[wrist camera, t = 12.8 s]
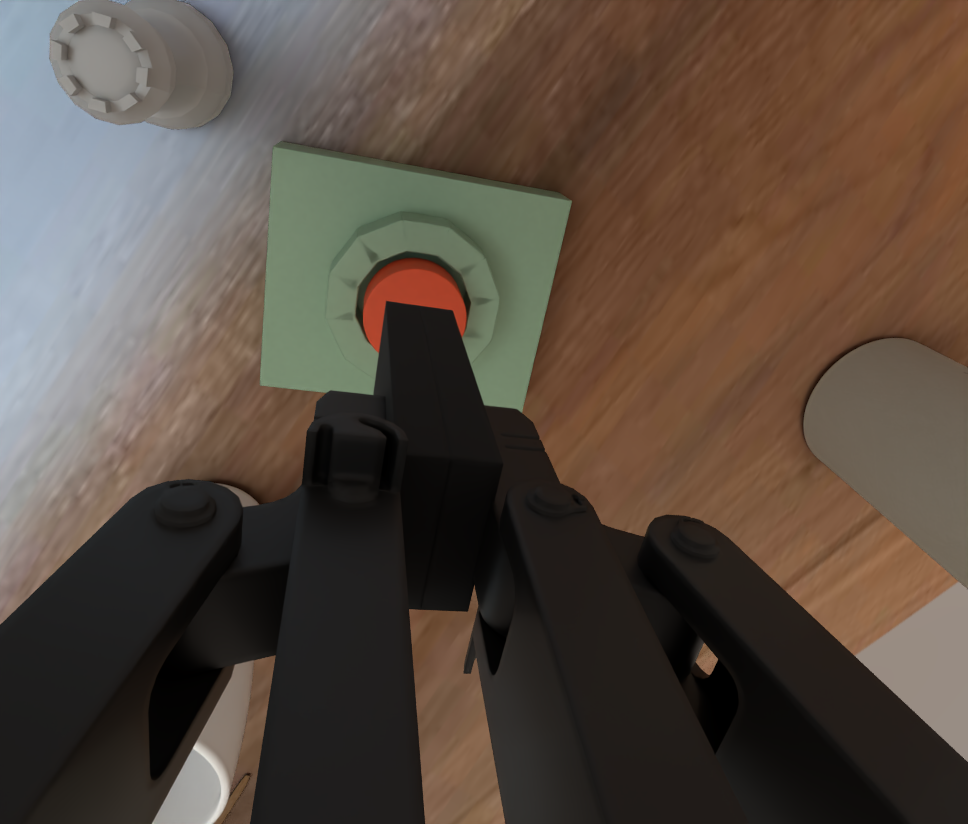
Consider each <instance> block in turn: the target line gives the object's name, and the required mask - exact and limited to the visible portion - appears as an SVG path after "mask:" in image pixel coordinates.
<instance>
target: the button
mask: <svg viewBox="0 0 968 824" xmlns="http://www.w3.org/2000/svg"><path fill="white" fill-rule="evenodd" d="M386 301H391V302H398V303H405V304H412V305H419V306H426V307H433V308H441V309H448V310H453V312H454V315H455V318H456V321H457V324H458V327H459V330H460V333H461V336H462V337H463V334H464V332H465V328H466V321H467V313H466V307H465V304H464V301H463V298H462V295H461V293H460V290H459V288H458V286H457V283H456V282H455V280H454V279H453V277H452V276H451V275H450V274H449V273H448V272H447V271H446V270H445V269H444V268H443V267H441V266H440V265H438V264H436V263H434V262H432V261H429V260H426V259H421V258H404V259H399V260H396V261H393V262H391V263H389V264H387V265H386V266H384V267H383V268H382V269H380V270H379V271H378V272H377V273H376V274H375V275H374V276H373V278H372V279H371V281H370V282H369V284H368V286H367V289H366V292H365V296H364V306H363V326H364V330H365V333H366V336H367V338H368V340H369V342H370V344H371V345H372V346H373V348H374V349H375V350H376V351H377V352H378V353H379V348H380V341H381V334H382V326H383V319H384V312H385V305H386Z"/></svg>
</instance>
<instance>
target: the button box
mask: <svg viewBox="0 0 968 824" xmlns="http://www.w3.org/2000/svg"><path fill="white" fill-rule="evenodd" d="M571 203H572V201H571V200H570V199H568V198H567V197H565V196H563V195H562V194H560V193H559V192H554V191H548V190H543V189H537V188H532V187H527V186H521V185H516V184H510V183H505V182H499V181H494V180H489V179H483V178H478V177H472V176H467V175H461V174H456V173H451V172H445V171H440V170H434V169H429V168H423V167H418V166H413V165H407V164H402V163H396V162H391V161H385V160H380V159H375V158H369V157H364V156H358V155H353V154H347V153H342V152H337V151H331V150H326V149H320V148H315V147H309V146H304V145H298V144H293V143H288V142H282V141H280V142H279V143H277V144H276V145H275V146H273V152H272V170H271V189H270V207H269V225H268V243H267V261H266V280H265V298H264V316H263V334H262V352H261V370H260V385H261V386H270V387H279V388H288V389H298V390H307V391H316V392H325V393H328V392H329V391H330V390H333V391H342V392H351V393H360V394H369V395H373V392H374V385H375V377H376V370H377V363H378V356H379V353H378V352H377V351H376V350H375V349H374V348H373V346H372V345H371V344H370V342H369V340H368V338H367V336H366V333H365V330H364V326H363V306H364V296H365V292H366V289H367V286H368V284H369V282H370V281H371V279H372V278H373V276H374V275H375V274H376V273H377V272H378V271H379V270H380V269H382V268H383V267H384V266H386V265H387V264H389V263H391V262H393V261H396V260H399V259H404V258H421V259H426V260H429V261H432V262H434V263H436V264H438V265H440V266H441V267H443V268H444V269H445V270H446V271H447V272H448V273H449V274H450V275H451V276H452V277H453V279H454V280H455V282H456V283H457V286H458V288H459V290H460V293H461V295H462V298H463V301H464V304H465V307H466V313H467V321H466V328H465V332H464V334H463V337H462V340H463V343H464V346H465V349H466V352H467V355H468V358H469V361H470V364H471V367H472V370H473V373H474V376H475V379H476V382H477V385H478V388H479V391H480V394H481V397H482V400H483V403H484V405H487V406H496V407H505V408H514V409H518V410H519V411H520V412H521V413H522V410H523V406H524V402H525V397H526V393H527V389H528V385H529V380H530V376H531V372H532V368H533V364H534V359H535V355H536V351H537V347H538V343H539V338H540V334H541V330H542V326H543V321H544V317H545V313H546V309H547V305H548V300H549V296H550V292H551V288H552V284H553V279H554V275H555V271H556V267H557V262H558V258H559V254H560V250H561V246H562V241H563V237H564V233H565V229H566V225H567V220H568V216H569V212H570V208H571Z"/></svg>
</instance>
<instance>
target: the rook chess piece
mask: <svg viewBox="0 0 968 824" xmlns="http://www.w3.org/2000/svg"><path fill="white" fill-rule="evenodd" d="M49 58H50V61H51V64H52V67H53V70H54V72H55V75H56V78H57V81H58V83H59V85H60V86H61V87H62V88H63V90H64V91H65V92H66V94H67V95H68V96H69V97H70V99H71V100H72V101H73V102H74V104H75V105H77V106H78V107H80V108H81V109H83V110H84V111H86V112H87V113H88V114H90V115H91V116H93V117H94V118H96V119H99V120H102V121H106V122H110V123H113V124H117V125H125V124H133V123H141V122H143V121H146V122H147V123H150V124H154V125H157V126H161V127H165V128H168V129H177V130H179V129H187V128H195V127H201V126H203V125H204V124H206V123H207V122H209V121H210V120H212V119H214V118H215V117H217V116H218V115H219V114H220V113H221V111H222V109H223V108H224V106H225V104H226V103H227V101H228V99H229V98H230V96H231V89H232V81H233V72H234V71H233V67H232V63H231V59H230V55H229V51H228V47H227V45H226V43H225V41H224V40H223V38H222V37H221V35H220V34H219V32H218V31H217V29H216V28H215V26H214V24H213V23H212V22H211V21H210V20H209V19H207V18H206V17H205V16H204V15H202V14H201V13H200V12H199V11H197V10H196V9H195V8H194V7H192V6H191V5H190V4H187V3H183V2H180V1H177V0H131V1H129V2H128V3H126V4H125V5H122V4H119V3H116V2H112V1H109V0H82V1H78V2H76V3H75V4H73V5H72V6H70V7H69V8H68V9H66V10H65V11H63V12H62V13H60V15H59V17H58V19H57V21H56V23H55V25H54V27H53V29H52V31H51V33H50V56H49Z"/></svg>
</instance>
